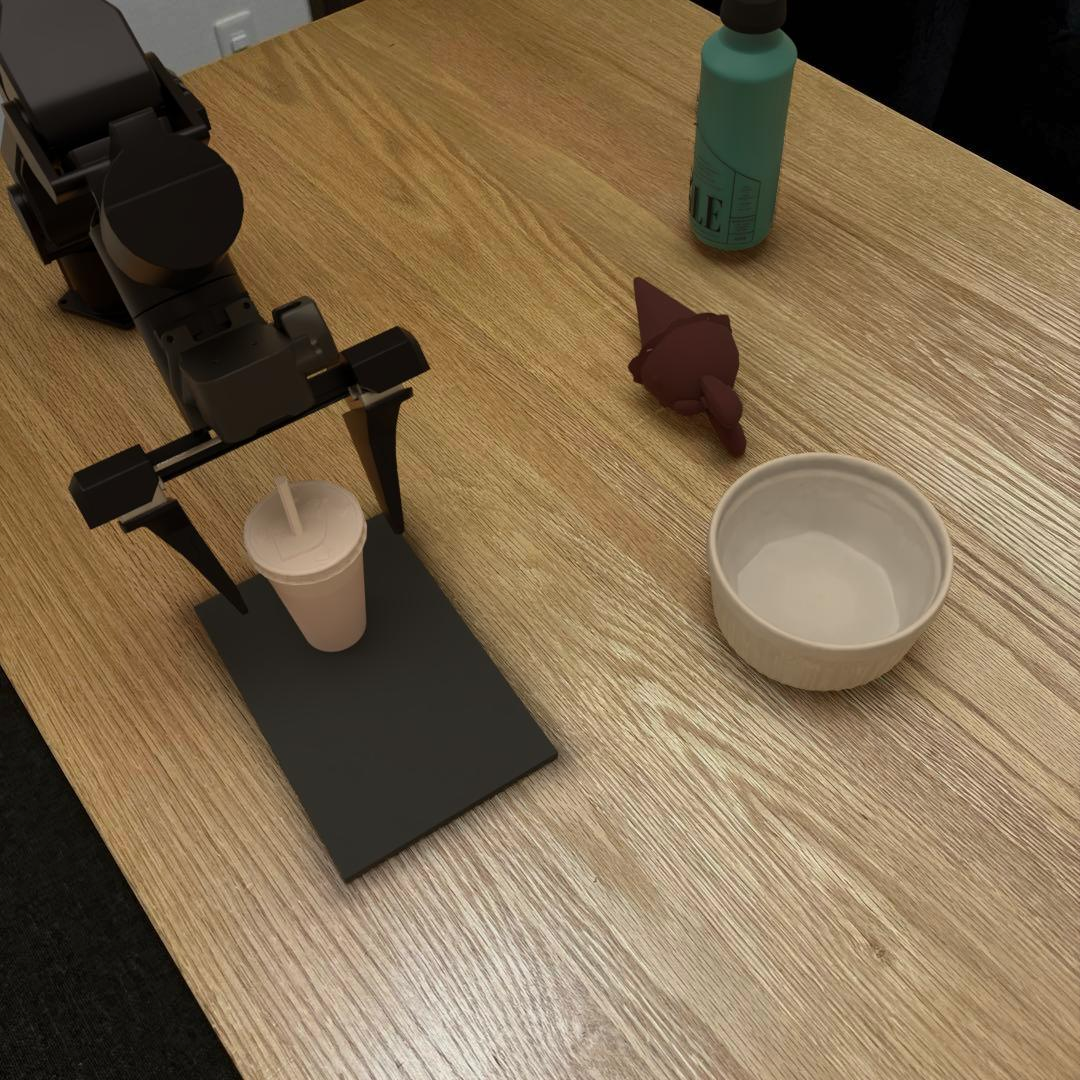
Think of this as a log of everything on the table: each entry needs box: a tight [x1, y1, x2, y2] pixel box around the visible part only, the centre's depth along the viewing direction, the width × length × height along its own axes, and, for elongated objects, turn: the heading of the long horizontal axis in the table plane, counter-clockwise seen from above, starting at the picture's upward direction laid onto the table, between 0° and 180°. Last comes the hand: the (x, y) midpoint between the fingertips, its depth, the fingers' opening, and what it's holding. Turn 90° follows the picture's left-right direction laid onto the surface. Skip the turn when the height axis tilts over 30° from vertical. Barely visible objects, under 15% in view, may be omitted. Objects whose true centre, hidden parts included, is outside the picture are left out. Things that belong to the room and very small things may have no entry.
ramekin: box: [705, 451, 955, 692], centre depth 67 cm, size 13×13×7 cm
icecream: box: [627, 276, 748, 459], centre depth 78 cm, size 7×7×15 cm
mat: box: [193, 512, 559, 884], centre depth 68 cm, size 20×13×1 cm, turn 32°
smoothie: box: [242, 475, 367, 652], centre depth 64 cm, size 6×6×14 cm
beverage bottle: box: [686, 0, 798, 251], centre depth 82 cm, size 6×7×20 cm
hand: (324, 572), depth 63 cm, fingers open, 9 cm apart
